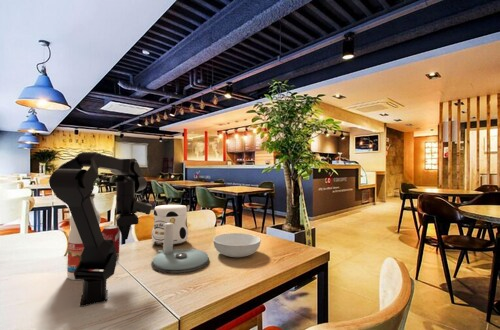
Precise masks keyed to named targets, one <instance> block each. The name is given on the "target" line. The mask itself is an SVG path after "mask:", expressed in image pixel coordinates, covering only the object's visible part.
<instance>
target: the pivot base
mask: <svg viewBox="0 0 500 330" xmlns="http://www.w3.org/2000/svg"><path fill="white" fill-rule="evenodd" d="M162 250H164V243H163V246H162ZM175 257H176V258H185V257H187V254H186V253H178V254H176V255H175ZM209 264H210V258H209V256H208V260H207V262H206V263H204V264H203V265H201V266H198V267H195V268H191V269H185V270H165V269H161V268H158V267H156V266H154V264H153V260H152V261H151V264H150V265H151V269H153V270H154V271H156V272H158V273H162V274H168V275H170V274H171V275H179V274H181V275H182V274H188V273H193V272H197V271H200V270H202V269H204V268H205V267H207V266H208V265H209Z"/></svg>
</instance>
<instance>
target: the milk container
mask: <svg viewBox="0 0 500 330" xmlns="http://www.w3.org/2000/svg"><path fill="white" fill-rule="evenodd" d="M187 213H188V207H187V205H184V204H183V205H182V204H163V205H157V206H155V207H154V211H153V228H152V230H151V241H152V242H153V244H154V245H157V246H161V247H163V243H164V224H165V223H173V247H174V246H178V245H182V244H184V243H185V242H187V240H188V238H189V228H188V223H187V221H188V214H187Z"/></svg>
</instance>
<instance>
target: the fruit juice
mask: <svg viewBox="0 0 500 330" xmlns="http://www.w3.org/2000/svg"><path fill="white" fill-rule="evenodd" d="M95 194H96V193H94V192H92V194H91V196H90V199H91V202H92V205H93V208H94V211H95V214H96V217H97V220H98V223H99V225H100V223H101V221H102V218H101V217H102V216H101V214H100V212H99V211H98V209H97V208H96V204H95V200H94V198H95V196H96V195H95ZM69 226H70V231H69V233H68V237H67V241H68V242H67V266H66V267H67V268H66V269H67V272H66V275H67V278H68V279H69V280H70V281H71V280H72V281H79V280H80V281H81V280H82V281H83V279H75V277H74V272H75V270H76V268H77V266H78V265H79V263H80V261H81V254H82V251H83V249H84V245H83V243H82V240H81V238H80V235H79V233H78V230H77V228H76V225H75V222H74V220H73V217H72V215H71V214H70V217H69ZM89 271H100V270H99V269H89Z"/></svg>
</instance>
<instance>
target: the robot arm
mask: <svg viewBox="0 0 500 330" xmlns="http://www.w3.org/2000/svg"><path fill="white" fill-rule="evenodd" d="M83 168H88V169H83ZM99 169H100V170H101V169H102V170H107V171H108V170H109V171H110V173H112V174H114V175H117V176H116V177H115V178H114V179H113V180H112V182H113V183H115V190H116V191H115V196H116V197H115V201H116V205H115V208H114V216H116V218H115V222H116V223H115V225H117V226H118V228H119V230H120V235H121V236H122V238H123V240H129V239H128V238H129V235H130V230H131V226H133V225H138V224H139V217H138V215H137V212H139V213H142V214H145V215H148V216H149V215H150V214H151V211H152V208H153V205H152V204H151V203H149V202H148V199H146V198H142V199H140V200H137V198H136V196H135V195H136V194H135V193H137V192H140V191H142V190H144V189H146V187H147V185H148V182H147V179H146V178H145V177H144V176H143V172H142V170H141V167H140V164H139V162H138V160H137V159H136V158H130V157H128V158H127V157H126V158H125V157H124V158H123V157H114V156H109V155H106V154H102V153H99V152H95V151H93V152H92V151H81V152H80V153H78V154H76V156H74V158H72V159H70V160H68V161H66V162H64V163H62V164H61V165H60V166H59V167H57V168H56V169H55V171H53V173H52V174H50V177H49V180H48V184H49V188H50V189H51V190H52V192H53V194H54V195H55V197H56V198H57V199H59V200H60V201H61V202H63V203H64V204H66V206H68V209H69V212H70V216H71V215H72V217H73V220H74V222H75V225H76V228H77V230H78V233H79V235H80V238H81V240H82V243H83V245H84V249H83V251H82V254H81V261H80V263H79V265H78V266H77V268H76V270H75V272H74V277H75V279H82V294H81V298H80V302H79V307H85V306H89V305H93V304H98V303H104V302H107V301H108V299H109V297H108V293H109V291H108V289H107V280H108V279H109V278H111V277H112V276H113V275H114V274H115V271H116V266H117V261H118V254H116V250H117V249H116V248H115V245H114V241H113V240H107V239H104V238H103V235H102V229H101V226H100V224H99V223H98V220H97V217H96V214H95V211H94V208H93V205H92V202H91V199H90V196H91V194H92V193H93V192H94V189H95V187H94V183H95V181H96V180H97V179H98V177H99ZM89 269H99V271H89Z"/></svg>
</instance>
